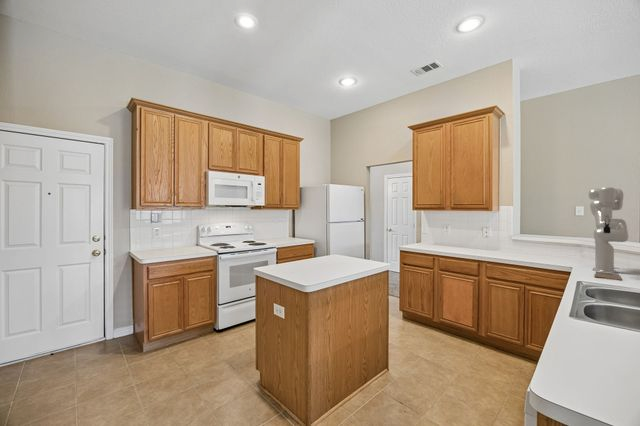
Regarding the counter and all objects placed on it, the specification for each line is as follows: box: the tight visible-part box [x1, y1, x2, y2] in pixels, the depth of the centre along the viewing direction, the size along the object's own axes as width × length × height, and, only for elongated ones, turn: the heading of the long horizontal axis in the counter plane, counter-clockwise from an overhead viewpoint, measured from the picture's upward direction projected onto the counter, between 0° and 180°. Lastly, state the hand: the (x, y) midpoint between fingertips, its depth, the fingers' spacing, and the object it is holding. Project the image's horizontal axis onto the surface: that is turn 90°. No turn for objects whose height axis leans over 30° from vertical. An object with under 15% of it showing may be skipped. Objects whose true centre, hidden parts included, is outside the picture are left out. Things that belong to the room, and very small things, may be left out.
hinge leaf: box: [595, 271, 620, 276], centre depth 189 cm, size 13×11×2 cm
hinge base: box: [594, 273, 623, 282], centre depth 181 cm, size 13×12×2 cm
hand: (607, 233), depth 190 cm, fingers closed
